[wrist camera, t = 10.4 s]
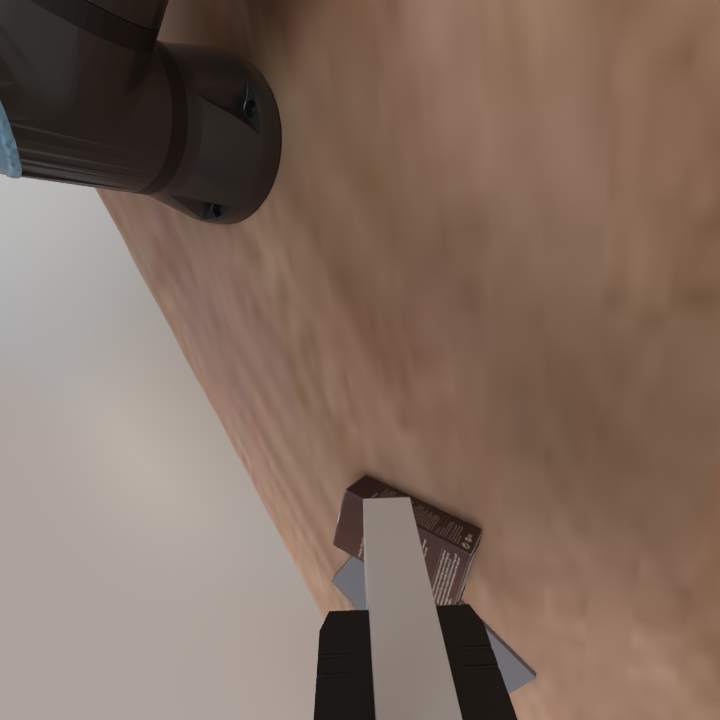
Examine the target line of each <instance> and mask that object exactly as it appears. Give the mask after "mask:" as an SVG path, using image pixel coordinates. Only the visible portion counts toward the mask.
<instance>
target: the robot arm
mask: <svg viewBox="0 0 720 720" xmlns="http://www.w3.org/2000/svg"><path fill="white" fill-rule="evenodd" d="M167 4H168V0H0V174H4V175H7V176H8V177H11V178H20V177H26V178H33V179H39V180H47V181H54V182H61V183H68V184H75V185H82V186H89V187H96V188H103V189H110V190H117V191H124V192H131V193H138V194H144V195H149V196H151V197H153V198H155V199H157V200H159V201H161V202H163V203H165V204H167V205H169V206H171V207H173V208H174V209H176V210H178V211H180V212H182V213H184V214H186V215H188V216H190V217H192V218H194V219H197V220H200V221H203V222H209V223H218V224H232V223H236V222H239V221H241V220H243V219H245V218H247V217H248V216H249V215H251V214H252V213H253V212H254V211H255V210H256V209H257V208H258V207H259V206H260V204H261V203H262V202H263V200H264V199H265V197H266V195H267V194H268V192H269V190H270V188H271V185H272V183H273V180H274V177H275V174H276V171H277V167H278V162H279V156H280V145H281V132H280V121H279V115H278V110H277V106H276V103H275V100H274V97H273V94H272V92H271V90H270V88H269V86H268V84H267V82H266V81H265V79H264V78H263V76H262V75H261V74H260V72H259V71H258V70H257V69H256V68H255V67H254V66H252V65H251V64H250V63H248V62H247V61H245V60H243V59H241V58H240V57H238V56H236V55H234V54H232V53H231V52H229V51H227V50H224V49H221V48H217V47H211V46H200V45H189V44H178V43H167V42H160V41H158V40H156V39H157V36H158V33H159V29H160V27H161V23H162V20H163V17H164V14H165V10H166V7H167ZM363 526H364V571H365V590H366V609H367V610H350V611H329V613H328V615H327V617H326V619H325V621H324V624H323V625H322V627H321V629H320V635H319V649H318V664H317V679H316V694H315V709H314V720H517V717H516V714H515V711H514V708H513V705H512V703H511V700H510V697H509V694H508V691H507V688H506V685H505V683H504V680H503V677H502V674H501V671H500V669H499V668H498V663H497V660H496V657H495V654H494V651H493V649H492V647H491V643H490V640H489V637H488V634H487V631H486V628H485V625H484V623H483V621H482V620H481V619H480V618H479V616H478V615H477V614H476V613H475V611H474V610H473V609H472V608H471V606H470V605H469V604H462V605H438V606H435V602H434V598H433V593H432V589H431V585H430V581H429V577H428V572H427V568H426V564H425V560H424V556H423V551H422V547H421V543H420V539H419V534H418V530H417V526H416V522H415V518H414V513H413V509H412V505H411V501H410V497H401V498H373V499H363Z"/></svg>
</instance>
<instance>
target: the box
mask: <svg viewBox="0 0 720 720" xmlns="http://www.w3.org/2000/svg"><path fill="white" fill-rule="evenodd" d="M401 497H410V496H408V495H406V494H404V493H401V492H399V491H397V490H395V489H393V488H391V487H389V486H387V485H385V484H383V483H381V482H379V481H376V480H374V479H372V478H370V477H368V476H364V477H362V478H361V479H359V480H358V481H357V482H355V483H354V484H353V485H351V486H350V487H348V488H347V489H346V490H345V493H344V497H343V502H342V506H341V509H340V512H339V515H338V520H337V528H336V533H335V537H334V542H333V544H334V546H336V547H338V548H340V549H342V550H343V551H345V552H347V553H348V554H350V555H352V556H354V557H355V558H357V559H359V560H360V561H362V562H364V526H363V499H373V498H401ZM410 501H411V505H412V509H413V513H414V518H415V522H416V526H417V530H418V534H419V539H420V543H421V547H422V551H423V556H424V560H425V564H426V568H427V572H428V577H429V581H430V585H431V589H432V593H433V598H434V602H435V605H437V606H438V605H459V602H460V600H461V597H462V594H463V591H464V589H465V585H466V580H467V577H468V574H469V571H470V567H471V564H472V561H473V558H474V555H475V552H476V549H477V547H478V545H479V542H480V539H481V535H482V530H479V529H477V528H475V527H473V526H471V525H469V524H467V523H465V522H463V521H460V520H459V519H456V518H454V517H452V516H450V515H448V514H446V513H444V512H442V511H440V510H437V509H435V508H433V507H431V506H429V505H427V504H425V503H423V502H421V501H419V500H417V499H414V498H412V497H410Z"/></svg>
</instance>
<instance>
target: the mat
mask: <svg viewBox="0 0 720 720" xmlns="http://www.w3.org/2000/svg"><path fill="white" fill-rule="evenodd" d="M332 582H333V583H334V585H335V586H336V587H337V588H338V589H339V590H340V591H341V592H342V593H343V594H344V595H345V596H346V598H347V599H348V600H349V601H350V602H351V603H352V604H353V605H354V606H355V607H356V608H357V610H367V609H366V590H365V571H364V562H362V561H360V560H359V559H357V558H355V557H354V556H352V557H351V558H350V559H349V561H348V562H347V563H346V564H345V565H344V566H343V568H342V569H341V570H340V571H339V572H338V573H337V575H336V576H335V577H334V578H333V579H332ZM462 604H465V603H464V602H463V601H462V600H460V602H459V605H462ZM435 606H437V605H435ZM483 623H484V622H483ZM484 625H485V628H486V631H487V634H488V637H489V640H490V643H491V647H492V649H493V651H494V654H495V657H496V660H497V663H498V668H499V669H500V671H501V674H502V677H503V680H504V683H505V685H506V688H507V691H508V694H509V693H511V692H513V691H514V690H516V689H518V688H519V687H521V686H523V685H524V684H526V683H527V682H529V681H531V680H532V679H534V678H536V673H535V672H534V671H533V670H532V669H531V668H530V667H529V666H528V665H527V664H526V663H525V662H524V661H523V660H522V659H521V658H520V657H519V656H518V655H517V654H516V653H515V652H514V651H513V650H512V649H511V648H510V647H509V646H507V645H506V644H505V643H504V642H503V641H502V640H501V639H500V638H499V637H498V636H497V635H496V634H495V633H494V632H493V631H492V630H491V629H490V628H489V627H488V626H487V625H486V624H485V623H484Z"/></svg>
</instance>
